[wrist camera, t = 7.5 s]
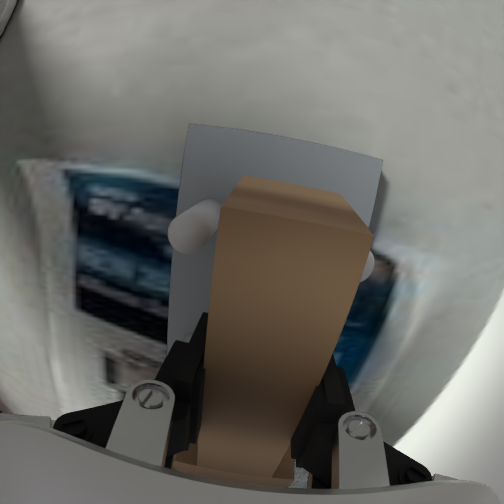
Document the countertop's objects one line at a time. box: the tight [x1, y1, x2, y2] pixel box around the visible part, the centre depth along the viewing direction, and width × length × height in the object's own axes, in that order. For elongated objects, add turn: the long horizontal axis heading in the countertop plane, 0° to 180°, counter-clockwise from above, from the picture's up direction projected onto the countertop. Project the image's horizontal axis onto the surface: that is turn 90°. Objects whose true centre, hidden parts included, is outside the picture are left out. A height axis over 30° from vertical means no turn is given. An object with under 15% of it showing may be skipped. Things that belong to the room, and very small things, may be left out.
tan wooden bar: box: [174, 175, 374, 488], centre depth 11 cm, size 15×5×4 cm, turn 170°
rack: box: [167, 124, 383, 355], centre depth 14 cm, size 16×9×5 cm, turn 170°
